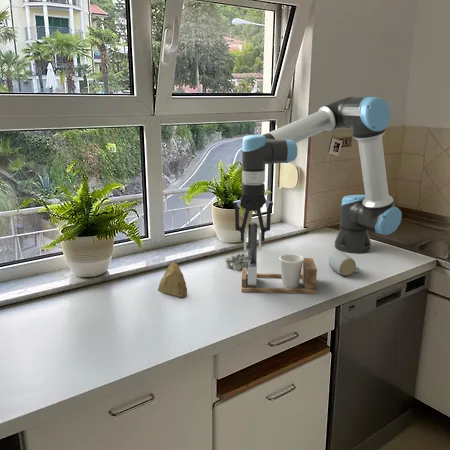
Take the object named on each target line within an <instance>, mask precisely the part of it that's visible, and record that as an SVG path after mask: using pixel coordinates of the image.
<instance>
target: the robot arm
mask: <svg viewBox="0 0 450 450" xmlns="http://www.w3.org/2000/svg"><path fill="white" fill-rule="evenodd" d="M391 118H392V113H391V108H390V106H389V103H388V102H387V101H386V100H384V99H383V98H381V97H378V96H372V95H371V96H346V97H343V98H340V99H337V100H335V101H332V102H330V103H328V104H325V105H323V106H320V108H319V109H318V111H316V112H313V113H311V114H308V115H306V116H303V118H300V119H298V120H295V121H292V122H291V123H287V124H286V125H284V126H281V127H279V128H276V129H273V130H272V131H270V132H267V133H265V134H262V135H260V134H251V135H244V137H243V138H242V147H241V152H242V153H241V156H242V157H241V160H242V161H241V165H242V166H241V183H242V184H241V197H240V199H239V200H234V201H232V202H233V203H232V204H233V207H234V208H233V209H234V216H235V217H234V218H235V222H234V224H235V225H234V226H235V231H238V232H240V241H241V242H243V252H247V230H245V229H246V225H247V221H248V217H249V213H250V212H252V211H254V212H256V215H257V217H258V223H259V227H260V230H259V231H258V252H262V242H265V236H266V235H265V233H266V232H270V230H271V219H272V216H271V215H272V208H273V205H274V202H273V201H272V200H267V199H266V197H265V196H266V195H265V194H266V193H265V192H266V191H265V187H266V185H265V182H266V165H269V164H283V163H284V164H287V163H292V162H294V161H295V160H296V159H297V156H298V145H297V143H300V142H302V141H304V140H306V139H309V138H311V137H313V136H315V135H318V134H319V133H322V132H325V131H327V132H331V131H333V130H336V129H351V132H352V138H354V140H356V141H357V144H358V151H359V153H358V154H359V159H360V165H361V166H360V168H361V173H362V174H361V175H362V181H363V188H364V194H351V195H350V194H349V195H345V196H343V197H342V199H341V205H340V221H339V222H340V223H339V230H338V232H337V236H336V237H335V240H334V248H336V249H337V251H342V252H344V253H352V254H362V253H367V252H370V251H371V248H372V242H371V239H370V234H369V231H371V232H374V233H376V234H378V235H379V234H380V235H384V236H388V235H391V234H392V233H394V232H396V231H397V230H398V227H400V224H401V223H402V216H403V215H402V211H401V209H400V208H398V207H397V206H395V201H394V198H393V197H392V196H391V195H389V188H388V180H387V171H386V170H387V169H386V161H385V160H386V159H385V154H384V142H383V135H384V134H385V133H386V132H387V131H386V129H387V127H388V126H389V124H390V121H391ZM241 204H242V206H243V207H244V214H243V218H242V223H241V226H240V206H241ZM264 205H265V207H266V223H265V224H266V225H265V224H264V220H263V215H262V211H261V209H262V208H263V206H264Z"/></svg>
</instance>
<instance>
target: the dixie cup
mask: <svg viewBox="0 0 450 450" xmlns="http://www.w3.org/2000/svg"><path fill="white" fill-rule="evenodd" d="M304 258H305V257H303V256H302V255H299V254H295V253H286V254H282V255H280V256H279V258H278V259H279V261H280V262H279V263H280V272H281V273H280V274H281V275H282V278H281V283H282V284H281V285H282V286H283V288H292V289H297V288H298V287H299V286H300V279H301V278H300V275H301V274H302V266H303V260H304Z"/></svg>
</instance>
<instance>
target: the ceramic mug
mask: <svg viewBox="0 0 450 450" xmlns="http://www.w3.org/2000/svg"><path fill="white" fill-rule="evenodd" d="M328 266H329V268H330V269H331V270H332V271H334V272H336V273H337V274H339V275H340V276H343V277H348V276H351V275H352V274H354V273H359V272H360V268H359V267H358V266H357V264H356V261H355V260H354V259H353V258H352V257H351V256H349V255H348V254H346V252H344V251H341V250H335V251H334V252H332V253H331V254H330V255H329V258H328Z"/></svg>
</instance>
